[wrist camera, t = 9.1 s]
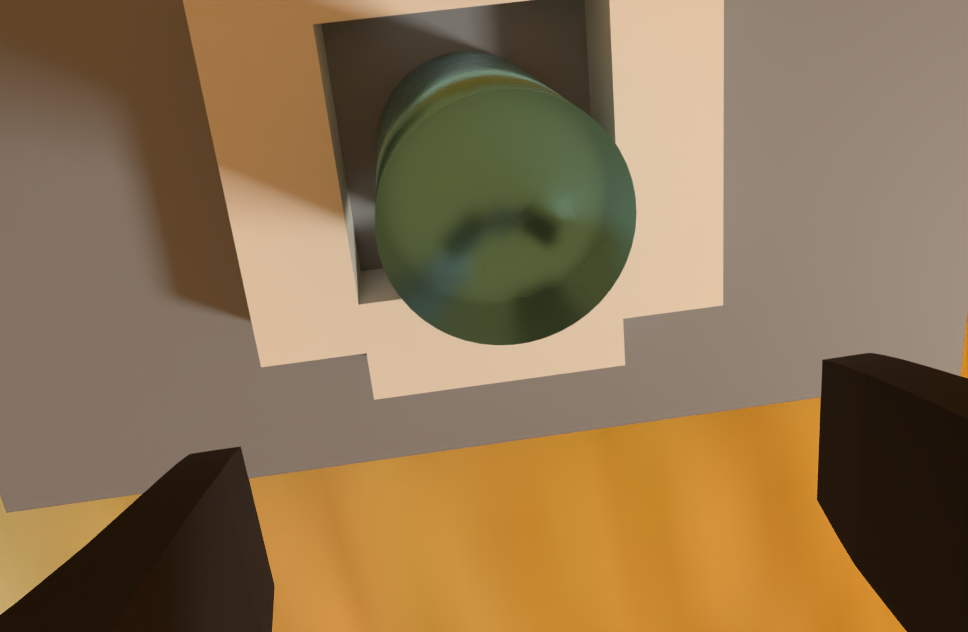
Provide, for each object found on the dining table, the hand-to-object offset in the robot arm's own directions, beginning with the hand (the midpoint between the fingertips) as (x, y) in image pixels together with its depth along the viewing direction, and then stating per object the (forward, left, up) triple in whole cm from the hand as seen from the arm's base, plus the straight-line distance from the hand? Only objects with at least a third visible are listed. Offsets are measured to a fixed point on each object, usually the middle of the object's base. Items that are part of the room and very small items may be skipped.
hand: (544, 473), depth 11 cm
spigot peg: (0, +3, -8) cm, 9 cm away
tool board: (0, +3, -9) cm, 10 cm away
